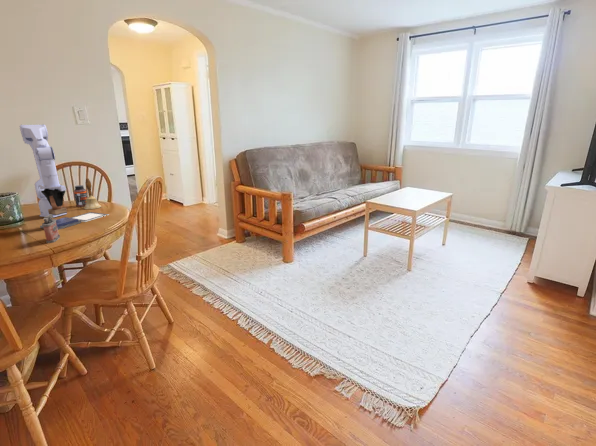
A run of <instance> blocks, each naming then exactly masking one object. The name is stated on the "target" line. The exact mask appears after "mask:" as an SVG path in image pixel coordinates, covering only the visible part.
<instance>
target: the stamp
mask: <svg viewBox="0 0 596 446" xmlns="http://www.w3.org/2000/svg"><path fill="white" fill-rule="evenodd" d="M49 197H50V202H51V206H52V209H48V212H49V214H52V215H60V214H64V213H67V214H68V209H67V207H63V206H59V207H57V205H56V203H55V200H54V198H53V196H49Z"/></svg>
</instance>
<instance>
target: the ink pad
mask: <svg viewBox="0 0 596 446" xmlns="http://www.w3.org/2000/svg"><path fill="white" fill-rule="evenodd" d="M43 223H44V222H43ZM43 223H41V224H43ZM78 224H82V221H79V220H78V219H75V218H71V217H66V216H64V217H61V218H57V219H56V225H57V229H58V231H59V230H62V229H65V228H69V227H72V226H75V225H78ZM39 227H40V229H43V230H44V227H43V226H42V225H40V226H39Z"/></svg>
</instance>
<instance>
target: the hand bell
mask: <svg viewBox="0 0 596 446" xmlns="http://www.w3.org/2000/svg"><path fill="white" fill-rule="evenodd" d="M85 187H86V190H87V197H88V198H86V206H84V207H83V210H97V209H100V208H102V205H101V204H99V202H98V201H97V198H96V197H95V196H93V192H92V181H91V180H90V178H88V177H87V178H85Z"/></svg>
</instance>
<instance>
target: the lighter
mask: <svg viewBox="0 0 596 446" xmlns="http://www.w3.org/2000/svg"><path fill="white" fill-rule="evenodd" d="M52 217H53V215H52V214H49V215H48V216H45V217H44V218H43V221H44V222H43V224H42V223H41V224H42V225H41V226H43V227H44V229H43V231H44V234H45V238H46V241H45V243H46V244H53V243H56V242H57V241H58V240H59V239H60V238H61V236H60V233H59V230H58V229H57V225H56V220H57V219H55V218H54V217H53V218H54V219H53V218H52Z"/></svg>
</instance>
